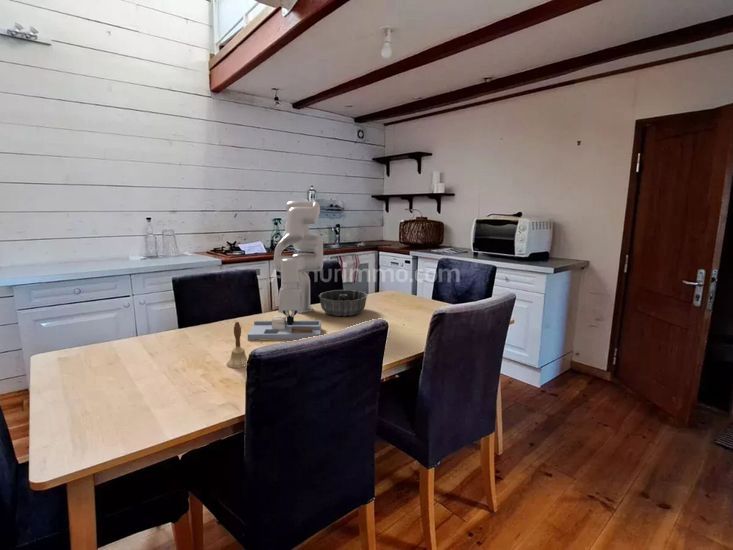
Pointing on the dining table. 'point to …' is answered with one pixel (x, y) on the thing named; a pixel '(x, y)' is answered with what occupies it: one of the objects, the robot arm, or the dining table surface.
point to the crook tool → (301, 330)
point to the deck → (283, 330)
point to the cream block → (278, 322)
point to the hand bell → (237, 350)
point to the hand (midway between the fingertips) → (290, 324)
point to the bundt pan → (343, 302)
